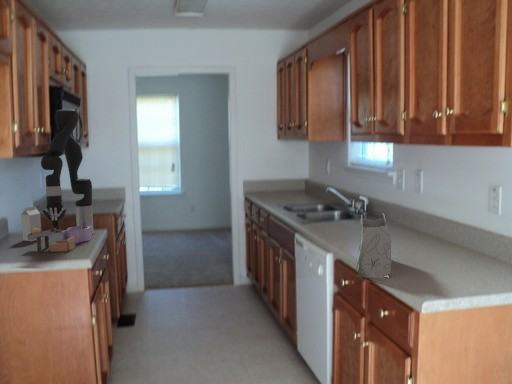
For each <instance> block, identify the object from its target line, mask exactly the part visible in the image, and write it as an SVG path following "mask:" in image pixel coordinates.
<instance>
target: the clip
mask: <svg viewBox="0 0 512 384" xmlns="http://www.w3.org/2000/svg"><path fill="white" fill-rule="evenodd" d="M60 233H61V240H67V239H69V238H71V237H73V236H75V245H76V243H77V244H79V243H82V242H83V241H84V242H88V241H90V240H92V239H93V234H92V226H87V227H86V229H82V226H77V225H76V226H71V227H68V228H66V229H65V230H62V231H60Z"/></svg>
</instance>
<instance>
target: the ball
mask: <svg viewBox="0 0 512 384" xmlns="http://www.w3.org/2000/svg"><path fill="white" fill-rule="evenodd" d="M31 233H32V234H36V233H40V231H39V229H37V228H34V229H33V230H32V232H31Z"/></svg>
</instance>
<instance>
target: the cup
mask: <svg viewBox="0 0 512 384" xmlns="http://www.w3.org/2000/svg"><path fill="white" fill-rule="evenodd" d="M75 248H76V244H75V236H73V237H71V238H69V239H67V240H62V239H60V240H59V239H57V240H56V241H55V242H53V243H49V252H70V251H72V250H73V249H75Z"/></svg>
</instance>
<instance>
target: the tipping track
mask: <svg viewBox="0 0 512 384" xmlns="http://www.w3.org/2000/svg"><path fill="white" fill-rule="evenodd" d="M56 228H57V227H53V228H50V229H46V230H41V231H40V233H36V234H32V233H30V234H28V236H27V237H28V240H32V239H37V237H42V238H45V236H48V237H49V236H53V235H54V234H56V233H59V232H60V233H61V231H63V230H62V228H59V229H56Z"/></svg>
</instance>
